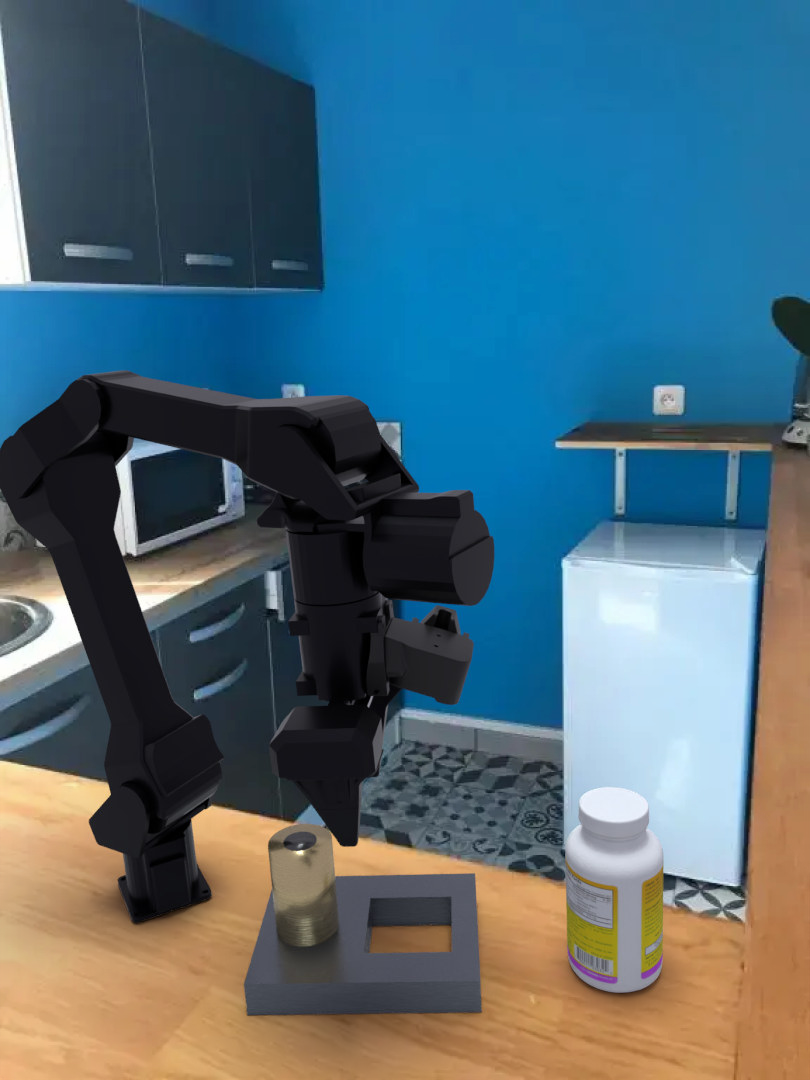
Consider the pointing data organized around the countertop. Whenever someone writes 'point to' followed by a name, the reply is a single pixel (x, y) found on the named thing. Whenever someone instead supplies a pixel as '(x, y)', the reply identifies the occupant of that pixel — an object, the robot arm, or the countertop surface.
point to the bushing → (303, 884)
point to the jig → (373, 978)
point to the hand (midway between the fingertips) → (361, 808)
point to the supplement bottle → (614, 892)
